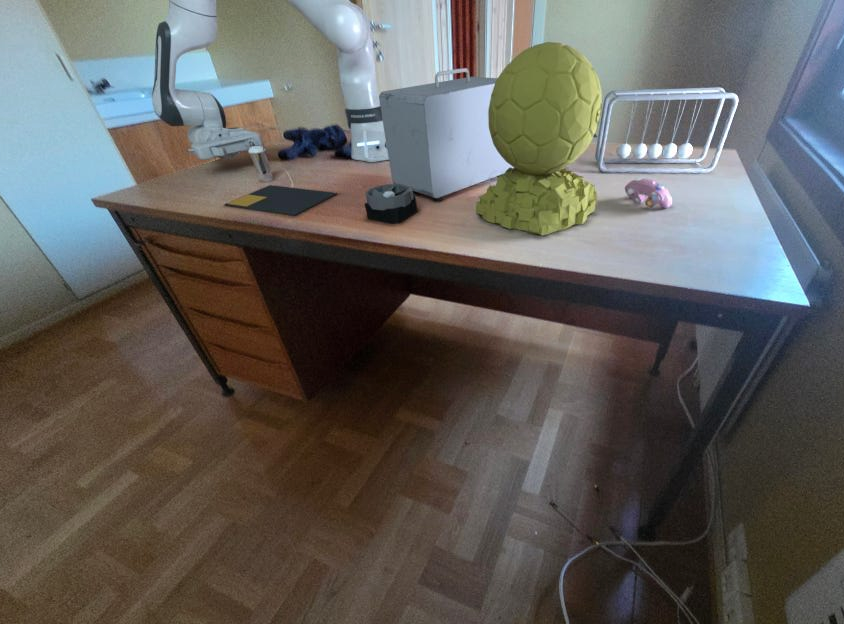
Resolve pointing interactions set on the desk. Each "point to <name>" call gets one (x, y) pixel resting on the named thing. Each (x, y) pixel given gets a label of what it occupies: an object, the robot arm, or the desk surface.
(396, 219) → the cpu cooler
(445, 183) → the vintage electronic device
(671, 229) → the desk surface
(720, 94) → the newton's cradle
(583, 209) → the trophy
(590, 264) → the desk surface
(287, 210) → the desk mat
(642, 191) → the video game controller
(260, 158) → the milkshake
